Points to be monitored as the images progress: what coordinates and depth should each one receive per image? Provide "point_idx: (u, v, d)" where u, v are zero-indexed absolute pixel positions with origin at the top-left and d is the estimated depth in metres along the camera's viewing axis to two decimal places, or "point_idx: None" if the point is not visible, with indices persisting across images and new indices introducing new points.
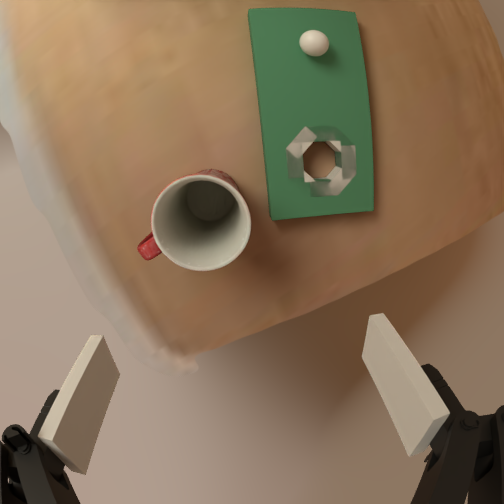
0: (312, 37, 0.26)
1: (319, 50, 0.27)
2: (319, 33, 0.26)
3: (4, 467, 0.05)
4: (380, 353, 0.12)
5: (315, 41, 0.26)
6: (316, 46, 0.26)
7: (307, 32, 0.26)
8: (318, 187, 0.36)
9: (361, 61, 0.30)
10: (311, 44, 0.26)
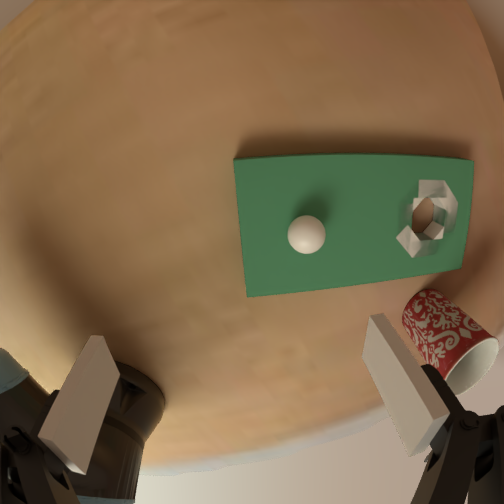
0: (309, 247, 0.25)
1: (323, 235, 0.26)
2: (300, 236, 0.25)
3: (4, 467, 0.05)
4: (380, 353, 0.12)
5: (314, 244, 0.25)
6: (320, 241, 0.25)
7: (296, 248, 0.26)
8: (449, 224, 0.29)
9: (317, 159, 0.26)
10: (317, 247, 0.26)
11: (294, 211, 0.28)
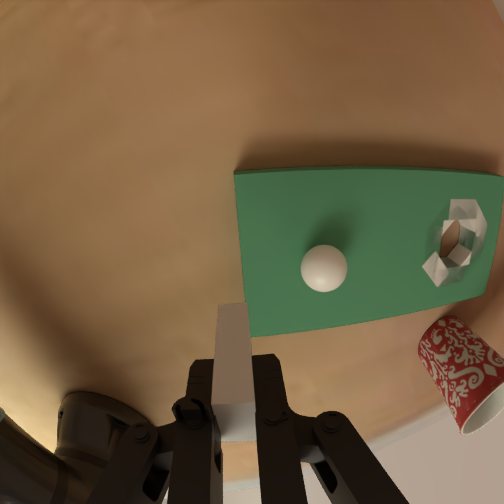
0: (328, 285, 0.20)
1: (345, 270, 0.20)
2: (318, 273, 0.20)
3: (148, 461, 0.07)
4: None
5: (335, 282, 0.20)
6: (341, 278, 0.20)
7: (312, 286, 0.21)
8: (476, 248, 0.24)
9: (339, 174, 0.21)
10: (337, 285, 0.20)
11: (309, 238, 0.22)
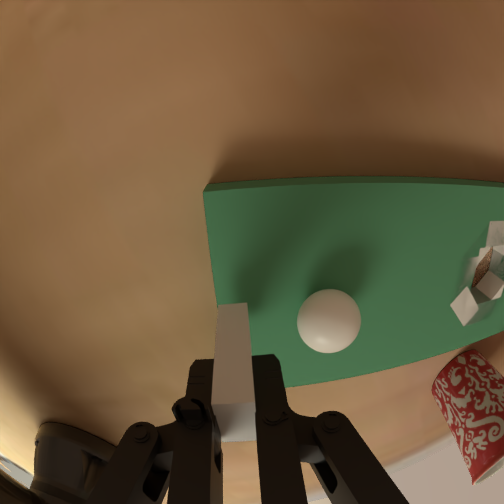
0: (333, 348, 0.14)
1: (358, 326, 0.14)
2: (320, 334, 0.14)
3: (148, 461, 0.07)
4: None
5: (343, 344, 0.14)
6: (353, 338, 0.14)
7: (311, 347, 0.15)
8: None
9: (354, 190, 0.14)
10: (346, 346, 0.14)
11: (310, 279, 0.16)
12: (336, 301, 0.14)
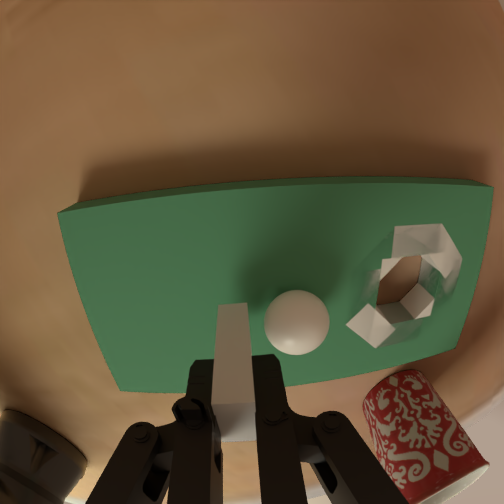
0: None
1: (265, 325, 0.15)
2: None
3: (148, 461, 0.07)
4: None
5: None
6: None
7: None
8: (443, 293, 0.18)
9: (184, 202, 0.14)
10: None
11: (155, 290, 0.16)
12: (285, 294, 0.15)
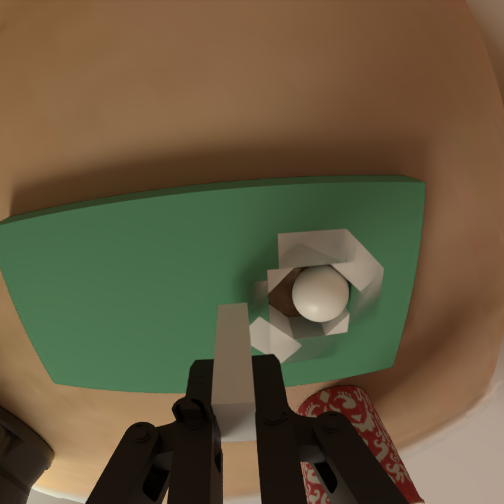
0: None
1: None
2: None
3: (148, 461, 0.07)
4: None
5: None
6: None
7: None
8: (361, 307, 0.17)
9: (68, 217, 0.14)
10: None
11: (60, 294, 0.16)
12: (317, 265, 0.17)
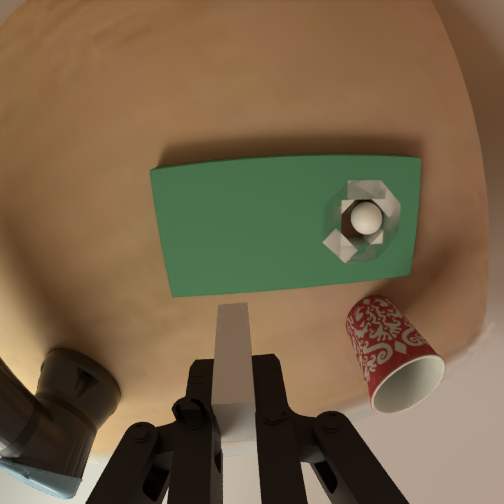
0: None
1: None
2: None
3: (148, 461, 0.07)
4: None
5: None
6: None
7: None
8: (389, 227, 0.30)
9: (229, 164, 0.27)
10: None
11: (208, 216, 0.29)
12: (364, 202, 0.30)
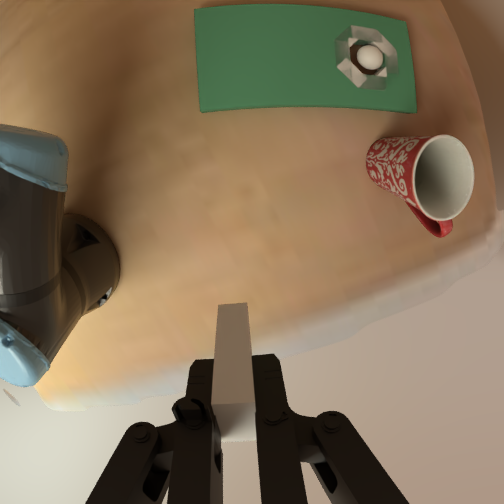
0: None
1: None
2: None
3: (148, 461, 0.07)
4: None
5: None
6: None
7: None
8: (390, 65, 0.29)
9: (258, 6, 0.26)
10: None
11: (241, 39, 0.28)
12: None
